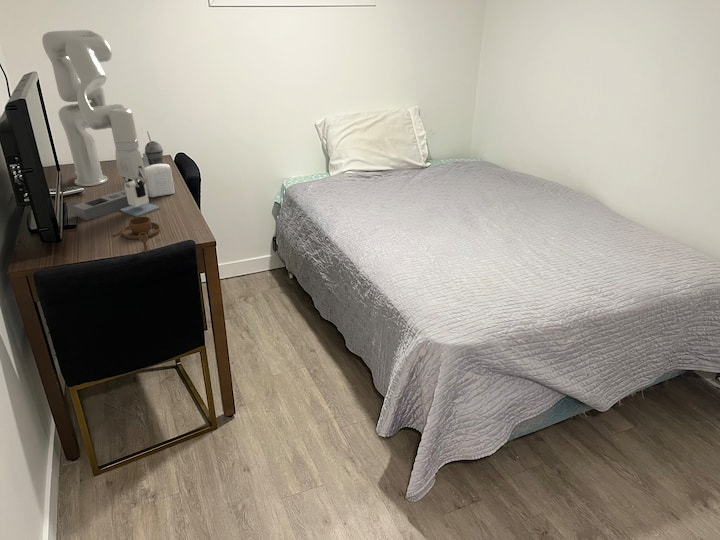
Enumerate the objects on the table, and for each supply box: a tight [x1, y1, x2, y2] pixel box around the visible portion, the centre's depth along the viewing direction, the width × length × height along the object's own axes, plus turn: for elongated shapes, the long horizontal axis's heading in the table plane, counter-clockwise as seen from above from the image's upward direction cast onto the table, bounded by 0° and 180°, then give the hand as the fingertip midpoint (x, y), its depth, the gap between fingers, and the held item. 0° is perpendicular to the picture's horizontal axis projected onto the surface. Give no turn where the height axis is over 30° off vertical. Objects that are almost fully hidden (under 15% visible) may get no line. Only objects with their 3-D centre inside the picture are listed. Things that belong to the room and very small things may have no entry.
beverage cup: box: [144, 131, 164, 165], centre depth 219 cm, size 7×7×20 cm
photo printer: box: [144, 163, 176, 198], centre depth 202 cm, size 10×4×12 cm, turn 123°
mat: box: [119, 202, 161, 218], centre depth 191 cm, size 10×10×1 cm
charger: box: [123, 179, 150, 207], centre depth 188 cm, size 4×6×8 cm
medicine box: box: [142, 151, 150, 168], centre depth 232 cm, size 8×4×9 cm, turn 179°
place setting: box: [112, 216, 162, 251], centre depth 169 cm, size 18×20×6 cm
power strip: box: [72, 189, 131, 221], centre depth 191 cm, size 7×24×4 cm, turn 146°
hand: (137, 194), depth 188 cm, fingers closed on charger, 4 cm apart
